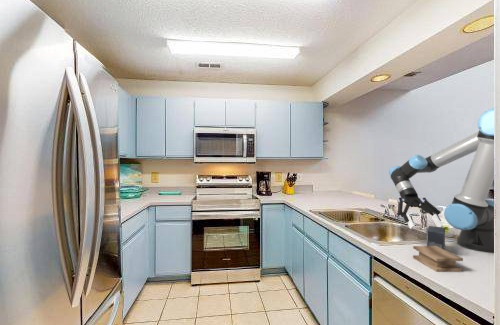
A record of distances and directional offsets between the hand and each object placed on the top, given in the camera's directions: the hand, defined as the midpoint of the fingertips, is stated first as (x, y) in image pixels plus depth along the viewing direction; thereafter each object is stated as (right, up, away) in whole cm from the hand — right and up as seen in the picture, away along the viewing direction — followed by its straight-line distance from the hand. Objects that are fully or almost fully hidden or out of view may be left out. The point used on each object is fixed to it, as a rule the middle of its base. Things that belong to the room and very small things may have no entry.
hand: (426, 227), depth 118 cm
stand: (-9, -10, -18) cm, 22 cm away
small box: (+1, -10, -5) cm, 11 cm away
